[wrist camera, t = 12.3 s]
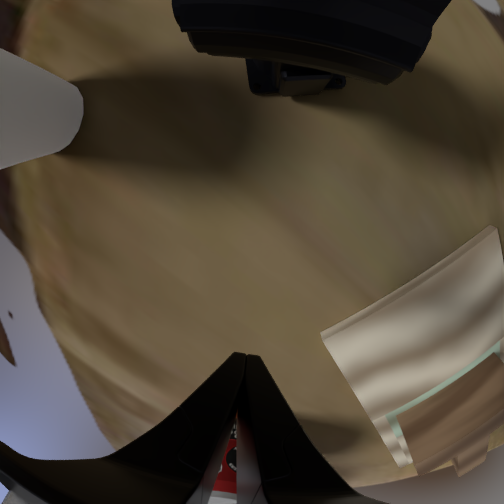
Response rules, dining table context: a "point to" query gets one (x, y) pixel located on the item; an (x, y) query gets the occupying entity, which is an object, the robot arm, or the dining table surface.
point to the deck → (423, 335)
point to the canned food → (227, 474)
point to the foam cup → (34, 111)
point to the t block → (457, 420)
